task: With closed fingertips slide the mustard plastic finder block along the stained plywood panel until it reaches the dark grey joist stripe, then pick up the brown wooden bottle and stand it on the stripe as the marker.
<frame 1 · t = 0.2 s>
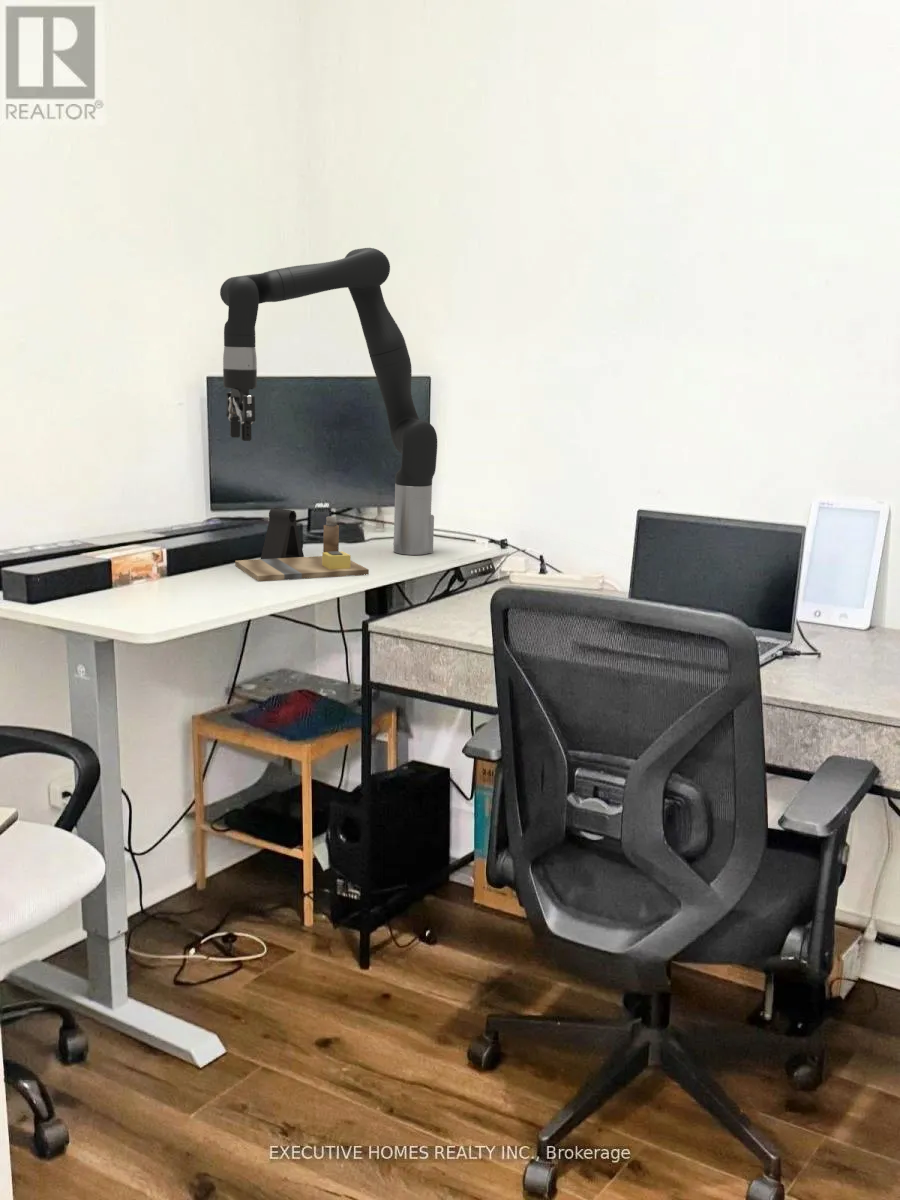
hand: (240, 438, 269), 29 cm above the table, fingers open, 8 cm apart
phone stand: (282, 559, 280), on the table
finder block: (336, 566, 267), point 1 cm above the table, touching panel
brown wooden bottle: (330, 559, 276), point 1 cm above the table, touching panel
panel: (301, 570, 268), on the table
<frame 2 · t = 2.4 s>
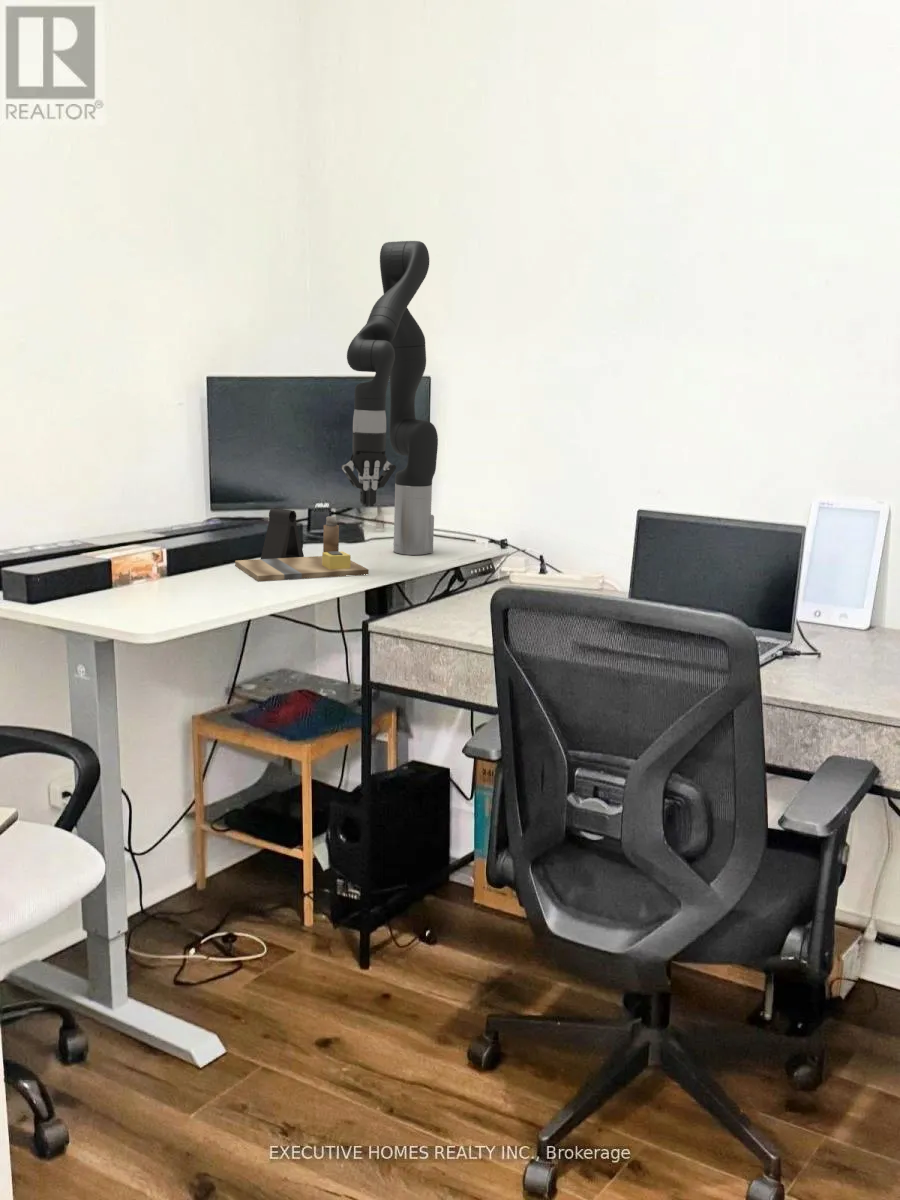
hand: (367, 506, 267), 15 cm above the table, fingers closed
nothing on the table moved.
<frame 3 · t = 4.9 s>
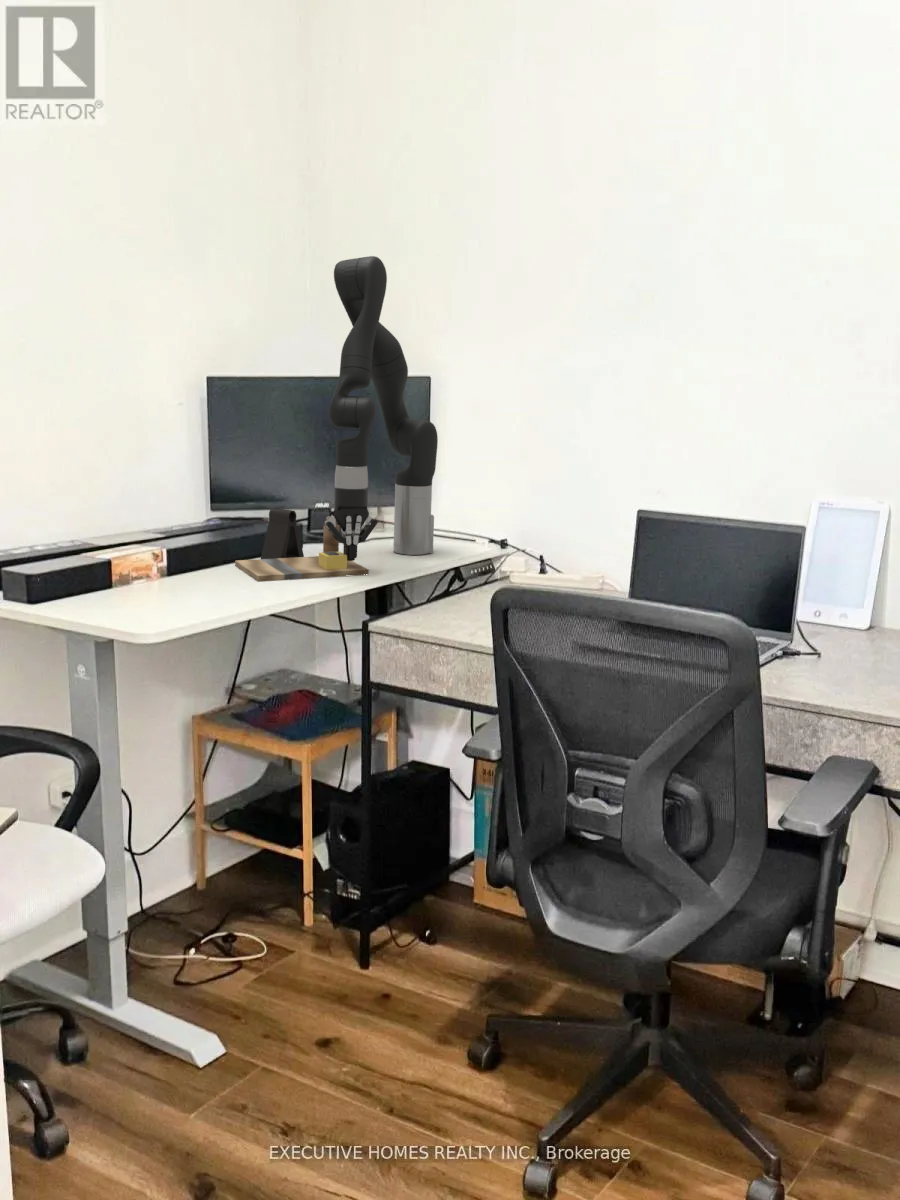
hand: (350, 560, 268), 3 cm above the table, fingers closed
finder block: (332, 566, 267), point 1 cm above the table, touching gripper, panel
everything else where it was.
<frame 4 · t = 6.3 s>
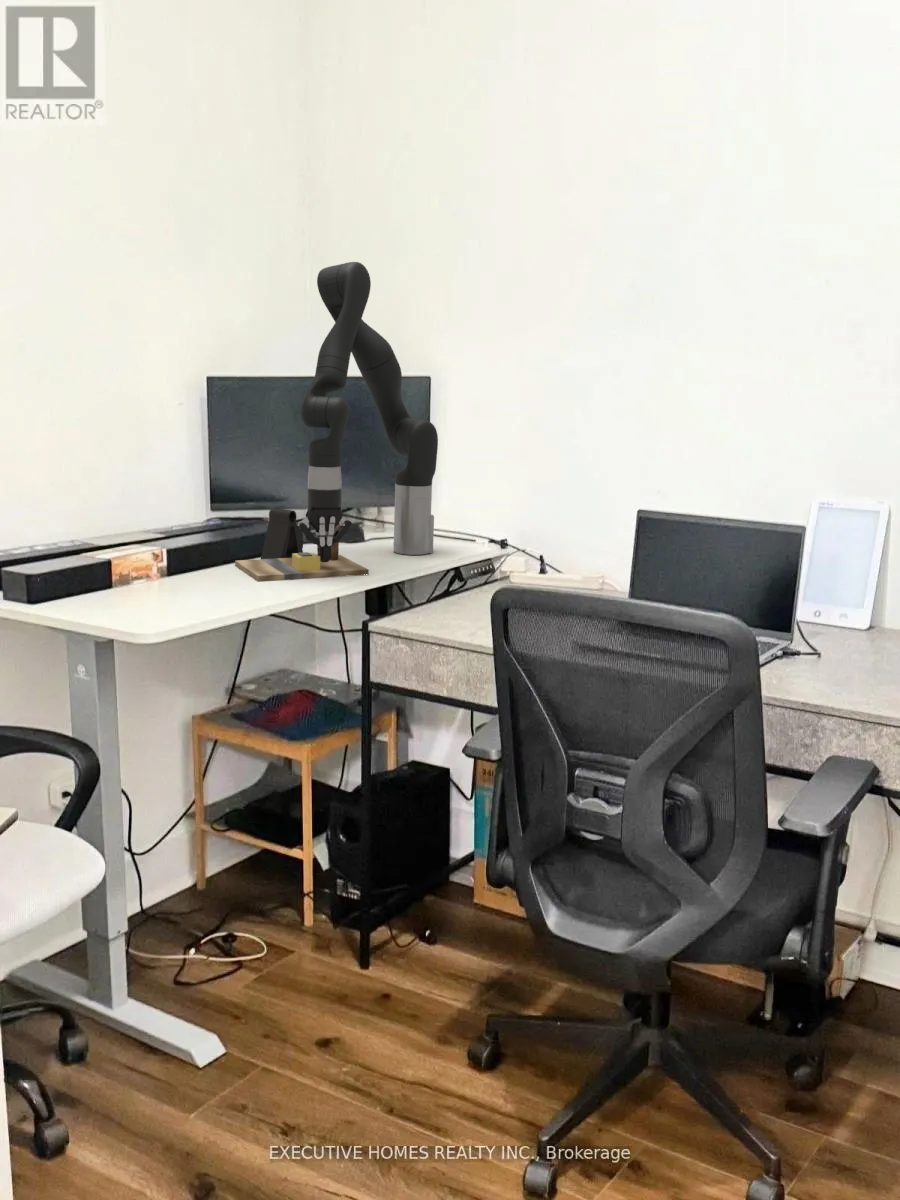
hand: (324, 561, 266), 3 cm above the table, fingers closed
finder block: (306, 568, 265), point 1 cm above the table, touching gripper, panel
everything else where it was.
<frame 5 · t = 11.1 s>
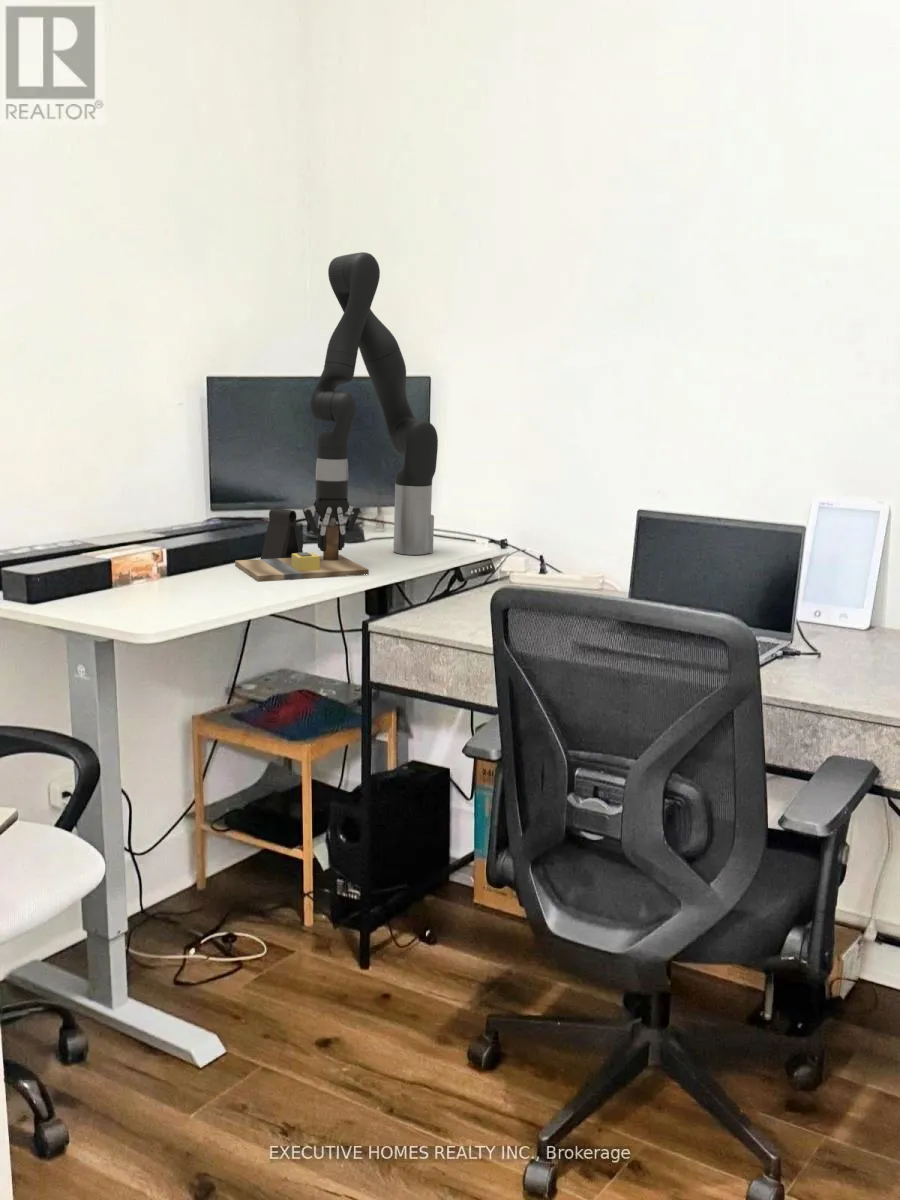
hand: (330, 549, 276), 3 cm above the table, fingers closed on brown wooden bottle, 3 cm apart
finder block: (305, 568, 265), point 1 cm above the table, touching panel
brown wooden bottle: (330, 559, 276), point 1 cm above the table, touching gripper, panel
everything else where it was.
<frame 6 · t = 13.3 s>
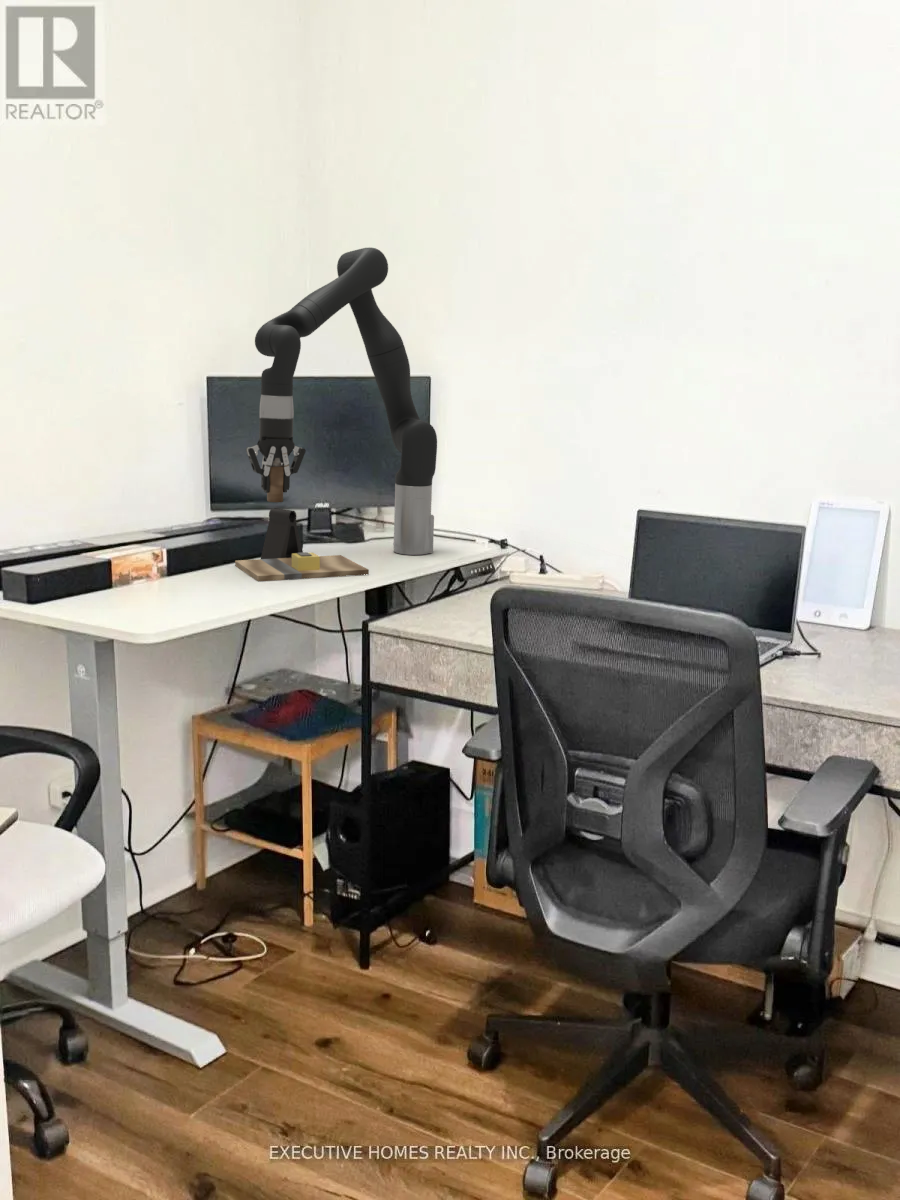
hand: (275, 491, 266), 18 cm above the table, fingers closed on brown wooden bottle, 3 cm apart
brown wooden bottle: (275, 501, 266), point 15 cm above the table, touching gripper
everything else where it was.
when the fingers open (5 cm above the table, at t = 16.0 s): brown wooden bottle drops 1 cm, resting on panel.
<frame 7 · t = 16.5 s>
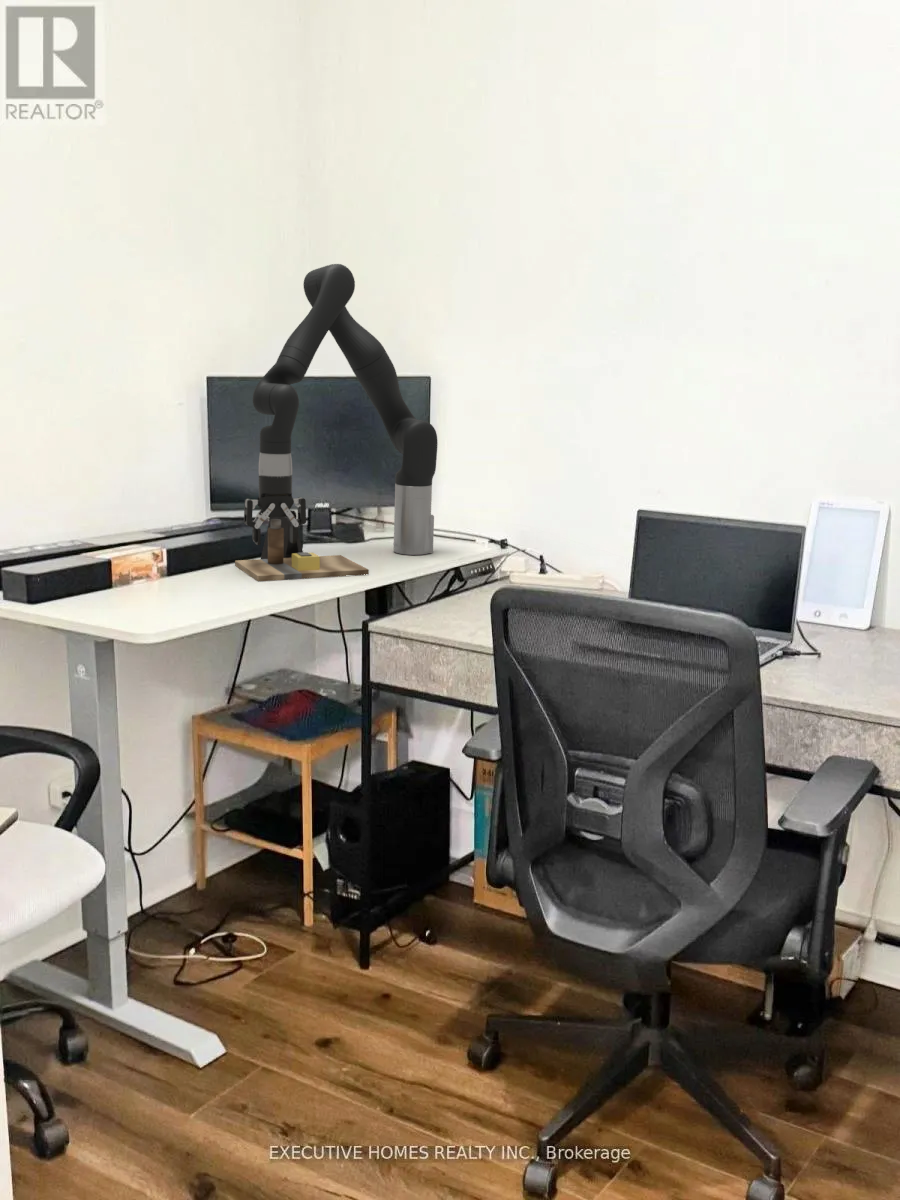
hand: (275, 543, 268), 6 cm above the table, fingers open, 8 cm apart
brown wooden bottle: (275, 562, 269), point 1 cm above the table, touching panel
everything else where it was.
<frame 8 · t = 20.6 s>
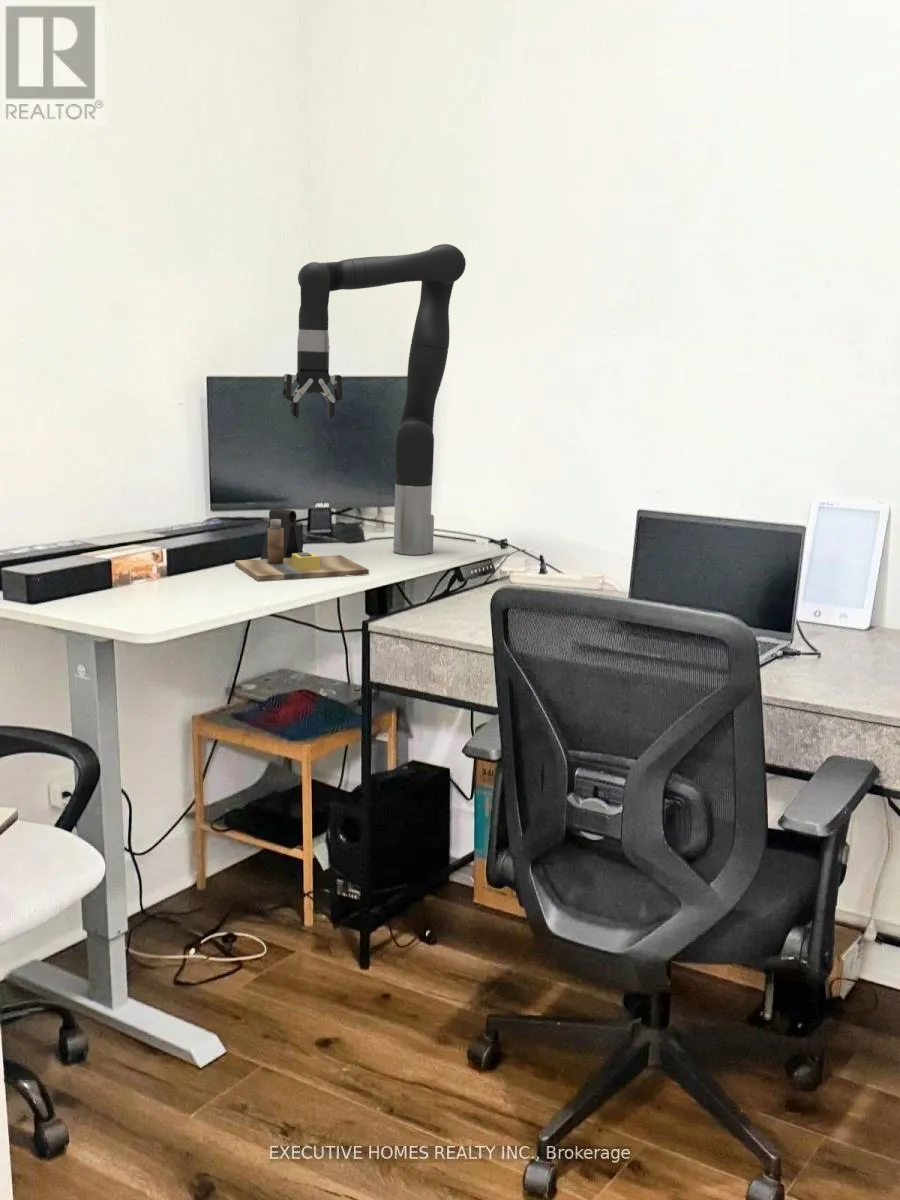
hand: (312, 418, 281), 33 cm above the table, fingers open, 8 cm apart
nothing on the table moved.
at the end: finder block 0.6 cm from the target spot on the panel, point 1.2 cm above the panel's base; brown wooden bottle inside the target area (0.3 cm from its centre), point 1.2 cm above the table; brown wooden bottle tilted 0° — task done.
